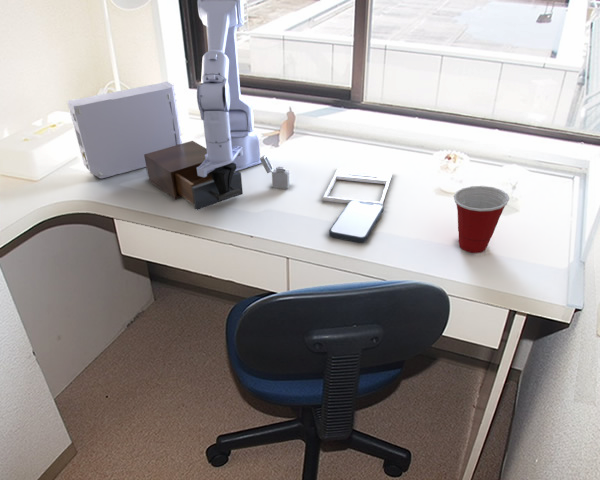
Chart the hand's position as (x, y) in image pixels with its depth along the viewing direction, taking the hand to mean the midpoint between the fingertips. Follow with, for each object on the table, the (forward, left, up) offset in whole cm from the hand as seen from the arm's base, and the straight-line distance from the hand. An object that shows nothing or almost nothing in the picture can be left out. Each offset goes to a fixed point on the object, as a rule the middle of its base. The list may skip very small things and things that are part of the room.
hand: (224, 193), depth 132 cm
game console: (+5, -38, -4) cm, 38 cm away
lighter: (-17, -2, -4) cm, 17 cm away
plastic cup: (-31, +49, -4) cm, 58 cm away
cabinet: (0, -19, -4) cm, 20 cm away
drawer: (0, -7, -3) cm, 7 cm away
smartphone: (-19, +26, -4) cm, 33 cm away
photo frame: (-32, +13, -4) cm, 35 cm away
